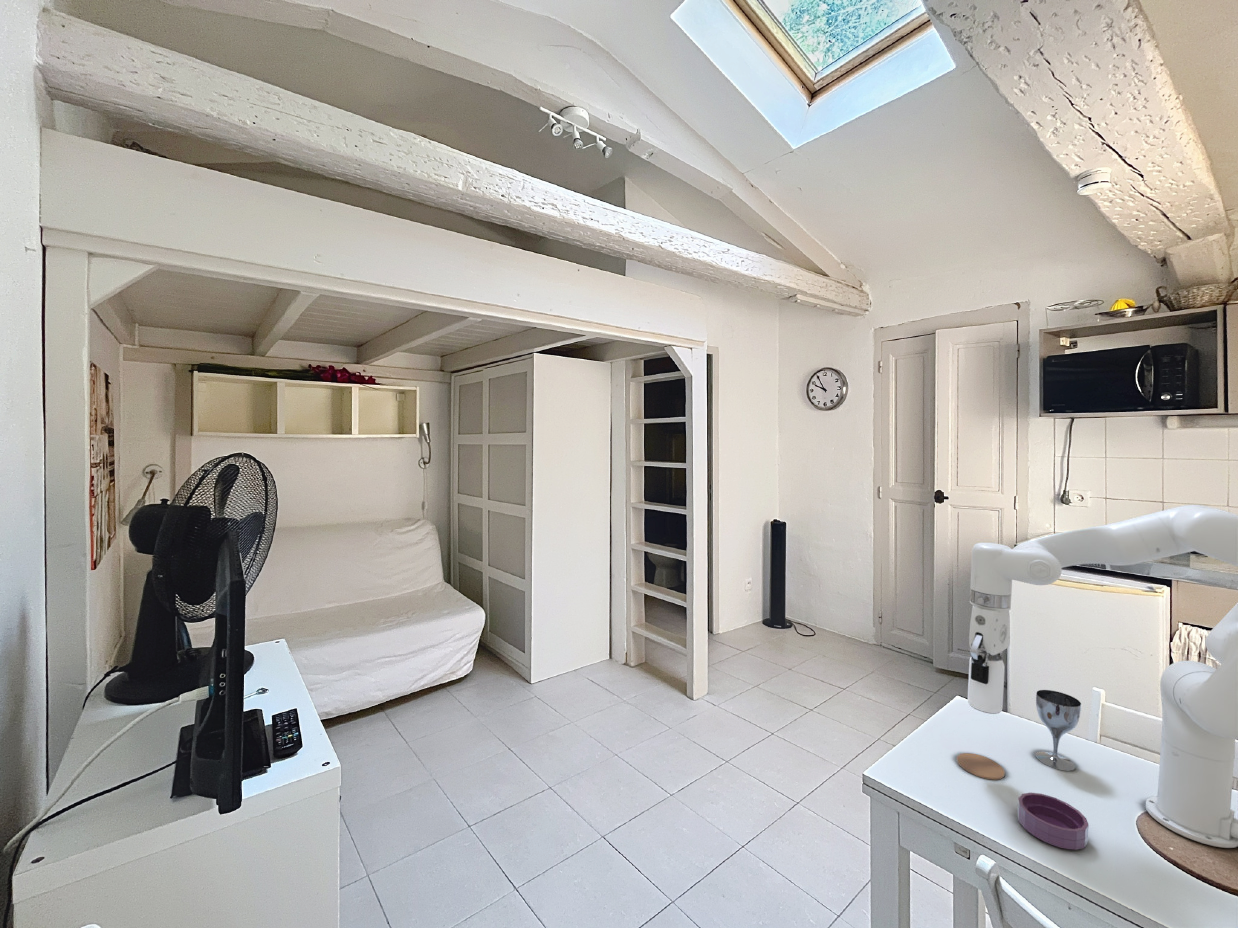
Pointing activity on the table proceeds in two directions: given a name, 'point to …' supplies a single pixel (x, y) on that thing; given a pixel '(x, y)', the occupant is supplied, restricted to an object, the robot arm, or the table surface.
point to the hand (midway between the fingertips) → (986, 676)
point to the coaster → (980, 766)
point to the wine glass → (1057, 723)
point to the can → (988, 687)
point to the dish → (1053, 821)
